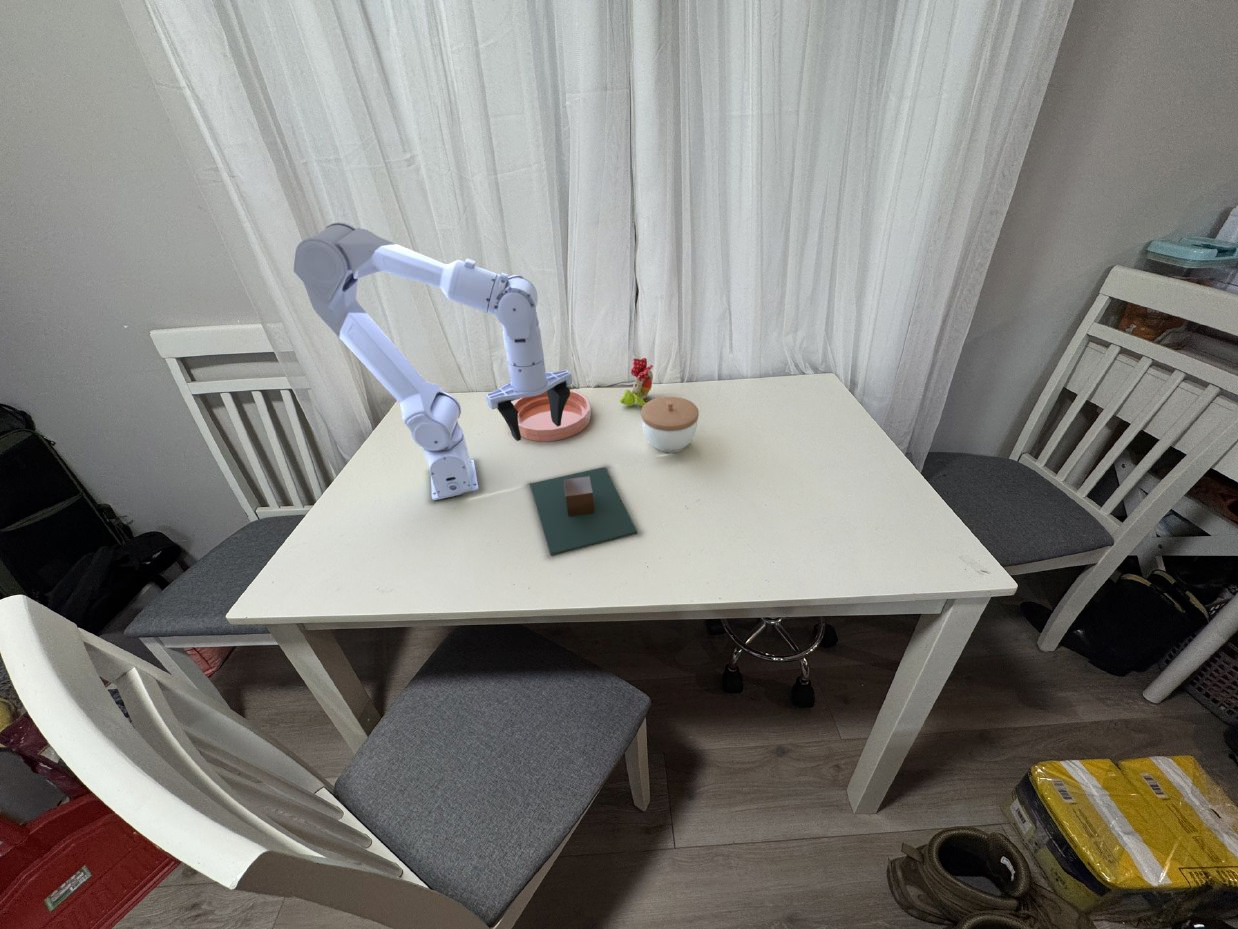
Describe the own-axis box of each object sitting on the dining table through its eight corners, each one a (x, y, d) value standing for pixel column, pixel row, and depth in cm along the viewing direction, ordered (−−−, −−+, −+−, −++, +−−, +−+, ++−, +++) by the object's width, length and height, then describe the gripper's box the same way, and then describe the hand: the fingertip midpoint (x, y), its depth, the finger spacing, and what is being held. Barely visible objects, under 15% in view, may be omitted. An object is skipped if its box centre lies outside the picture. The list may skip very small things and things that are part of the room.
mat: (637, 533, 82) (637, 531, 82) (550, 555, 79) (550, 553, 79) (605, 468, 96) (604, 466, 96) (530, 485, 93) (530, 483, 92)
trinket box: (689, 464, 96) (692, 422, 90) (634, 455, 99) (633, 413, 93) (701, 433, 104) (704, 392, 98) (650, 426, 107) (650, 385, 101)
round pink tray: (600, 433, 105) (599, 420, 103) (518, 450, 101) (515, 437, 100) (579, 395, 118) (578, 383, 116) (506, 409, 114) (504, 396, 112)
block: (594, 513, 86) (592, 492, 83) (568, 516, 85) (565, 496, 82) (591, 496, 89) (589, 476, 86) (566, 499, 89) (563, 479, 86)
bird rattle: (630, 403, 118) (615, 407, 110) (638, 355, 115) (622, 355, 107) (656, 409, 116) (642, 413, 108) (664, 359, 113) (650, 360, 105)
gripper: (554, 339, 87) (563, 408, 96) (473, 362, 81) (489, 433, 90) (575, 353, 83) (581, 425, 91) (489, 379, 77) (505, 453, 85)
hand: (537, 430), depth 90 cm, fingers open, 7 cm apart
